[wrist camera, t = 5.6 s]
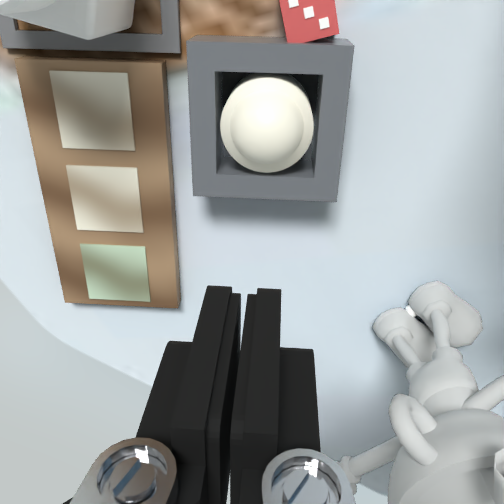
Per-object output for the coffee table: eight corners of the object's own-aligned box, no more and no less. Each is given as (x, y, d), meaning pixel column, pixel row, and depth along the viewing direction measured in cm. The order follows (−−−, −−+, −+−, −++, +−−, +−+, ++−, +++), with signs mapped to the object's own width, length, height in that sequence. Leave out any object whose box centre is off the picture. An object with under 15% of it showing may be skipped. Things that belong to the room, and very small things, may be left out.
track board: (23, 56, 30) (13, 59, 29) (165, 60, 30) (160, 63, 29) (70, 293, 39) (64, 303, 38) (181, 299, 39) (177, 309, 37)
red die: (278, -11, 28) (277, -10, 25) (326, -24, 27) (330, -25, 25) (287, 41, 29) (288, 46, 26) (334, 29, 28) (339, 33, 26)
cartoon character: (332, 416, 44) (362, 692, 27) (240, 344, 41) (207, 608, 23) (596, 247, 34) (908, 512, 17) (504, 135, 31) (779, 324, 14)
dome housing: (196, 34, 29) (186, 41, 26) (347, 38, 29) (354, 45, 26) (201, 176, 33) (193, 195, 30) (331, 181, 33) (336, 201, 30)
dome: (226, 67, 30) (215, 83, 25) (314, 70, 29) (319, 86, 25) (226, 153, 32) (217, 180, 28) (307, 156, 32) (311, 184, 28)
